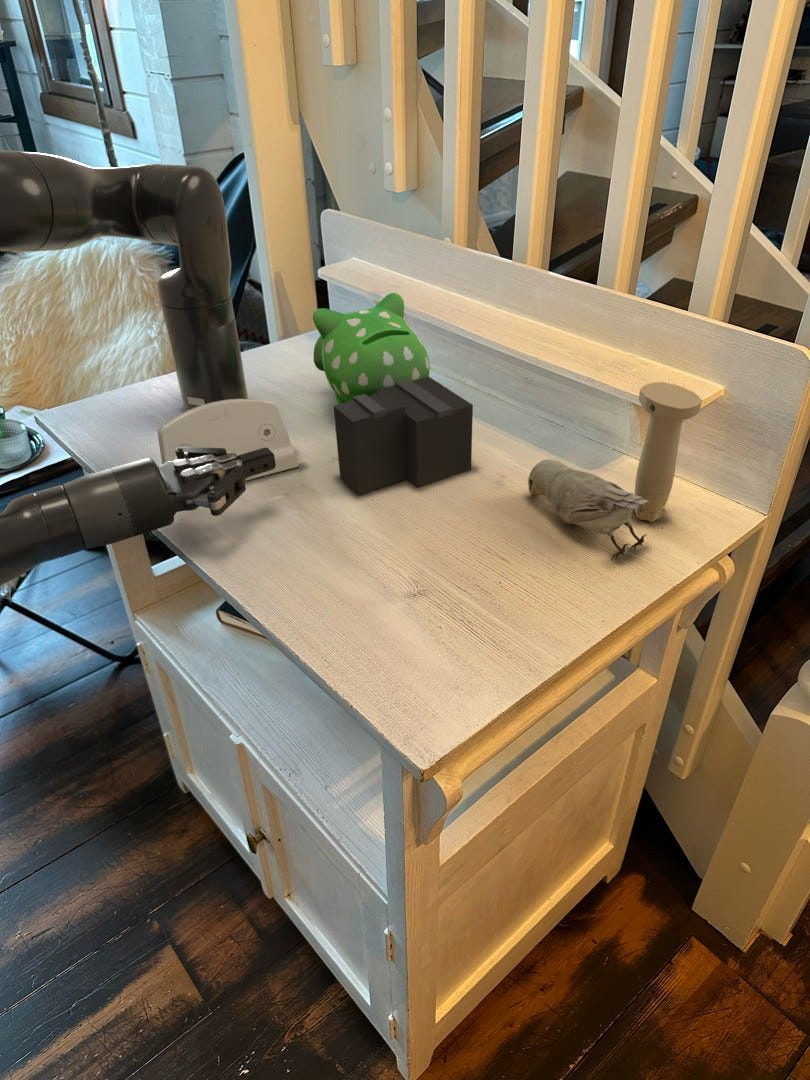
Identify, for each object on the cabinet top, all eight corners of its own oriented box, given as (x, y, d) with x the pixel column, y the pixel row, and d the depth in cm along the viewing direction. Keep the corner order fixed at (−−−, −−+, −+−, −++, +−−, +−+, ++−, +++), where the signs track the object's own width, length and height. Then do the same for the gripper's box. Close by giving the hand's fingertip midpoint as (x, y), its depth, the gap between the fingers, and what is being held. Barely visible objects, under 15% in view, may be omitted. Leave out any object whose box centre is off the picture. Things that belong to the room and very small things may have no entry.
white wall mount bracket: (172, 500, 92) (149, 419, 89) (167, 494, 96) (144, 416, 93) (301, 465, 98) (283, 388, 95) (291, 461, 102) (273, 387, 99)
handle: (653, 535, 84) (678, 412, 75) (612, 508, 88) (630, 389, 79) (684, 521, 86) (711, 400, 77) (642, 496, 90) (663, 378, 81)
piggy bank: (387, 376, 120) (382, 281, 111) (448, 420, 107) (449, 316, 99) (304, 398, 115) (293, 299, 106) (359, 447, 102) (351, 339, 93)
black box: (339, 477, 96) (332, 402, 89) (387, 462, 98) (384, 388, 92) (358, 496, 92) (352, 418, 86) (408, 479, 95) (405, 403, 89)
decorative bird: (548, 488, 92) (553, 433, 88) (651, 552, 81) (663, 493, 77) (514, 502, 90) (518, 447, 85) (616, 570, 79) (626, 511, 75)
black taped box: (378, 453, 100) (374, 388, 95) (429, 437, 103) (428, 373, 98) (417, 487, 93) (416, 419, 88) (471, 469, 96) (473, 401, 91)
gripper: (125, 502, 72) (292, 452, 79) (94, 446, 82) (246, 405, 89) (144, 564, 77) (300, 511, 84) (112, 504, 86) (255, 461, 93)
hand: (272, 457), depth 86 cm, fingers closed
